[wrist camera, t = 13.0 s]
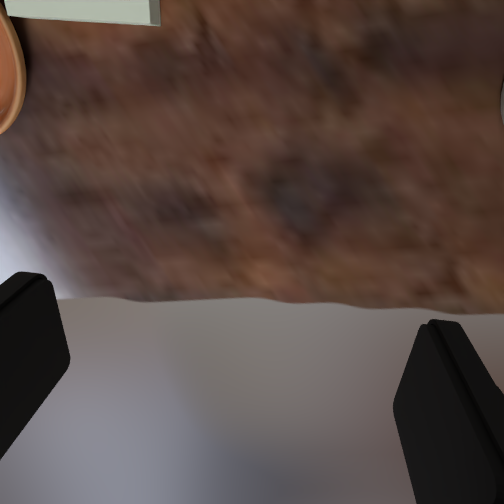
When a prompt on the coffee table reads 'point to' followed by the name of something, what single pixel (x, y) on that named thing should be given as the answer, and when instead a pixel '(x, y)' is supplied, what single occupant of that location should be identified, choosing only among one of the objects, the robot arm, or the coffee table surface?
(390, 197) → the coffee table surface
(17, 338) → the robot arm
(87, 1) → the picture frame
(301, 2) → the coffee table surface
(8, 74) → the saucer
